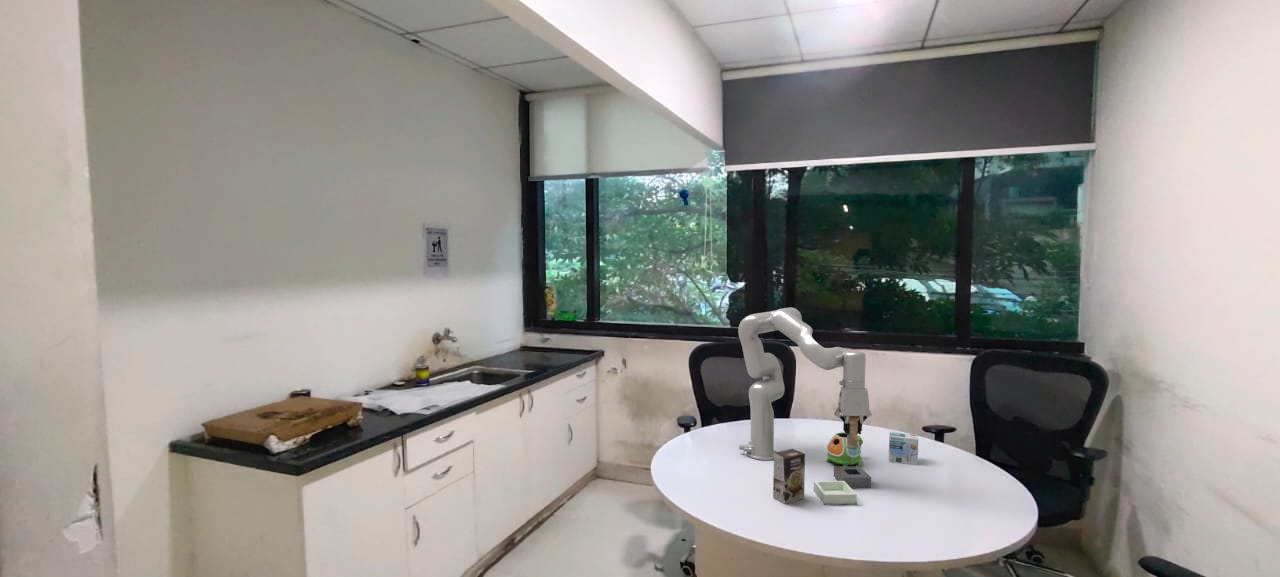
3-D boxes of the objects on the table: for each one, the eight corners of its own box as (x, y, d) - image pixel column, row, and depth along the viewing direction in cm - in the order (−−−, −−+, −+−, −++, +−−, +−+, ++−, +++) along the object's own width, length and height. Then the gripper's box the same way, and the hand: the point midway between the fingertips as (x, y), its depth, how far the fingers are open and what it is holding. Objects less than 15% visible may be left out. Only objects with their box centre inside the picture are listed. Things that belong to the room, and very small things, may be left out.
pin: (848, 450, 200) (849, 418, 199) (843, 445, 204) (844, 414, 203) (860, 450, 200) (861, 417, 199) (855, 445, 204) (856, 414, 203)
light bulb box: (888, 462, 222) (889, 436, 221) (888, 456, 228) (888, 431, 228) (918, 465, 218) (919, 439, 217) (916, 459, 224) (917, 434, 224)
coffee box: (785, 504, 186) (785, 458, 185) (772, 497, 191) (772, 452, 190) (805, 498, 190) (805, 453, 189) (792, 491, 196) (792, 447, 194)
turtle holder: (874, 462, 222) (875, 433, 221) (845, 472, 212) (845, 442, 211) (848, 453, 232) (849, 425, 231) (819, 461, 223) (820, 433, 222)
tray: (824, 504, 185) (824, 494, 185) (813, 490, 196) (813, 481, 196) (856, 504, 185) (856, 494, 185) (843, 490, 196) (844, 480, 196)
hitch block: (843, 488, 198) (843, 477, 198) (833, 476, 208) (833, 466, 208) (871, 488, 198) (871, 477, 198) (859, 476, 208) (859, 466, 208)
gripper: (835, 387, 196) (833, 436, 198) (880, 386, 197) (879, 436, 198) (827, 381, 204) (826, 429, 205) (871, 381, 204) (870, 429, 206)
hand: (852, 432), depth 202 cm, fingers closed on pin, 3 cm apart
